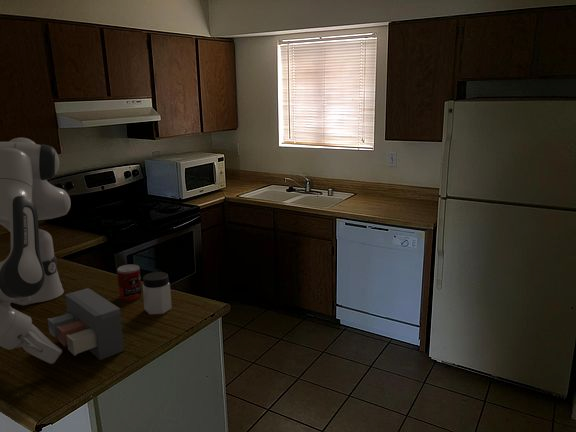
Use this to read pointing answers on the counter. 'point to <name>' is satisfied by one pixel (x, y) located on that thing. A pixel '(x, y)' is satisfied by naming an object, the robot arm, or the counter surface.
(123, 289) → the canned food
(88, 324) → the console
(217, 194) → the counter surface
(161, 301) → the jar
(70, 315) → the blue-grey key
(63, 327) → the brick key
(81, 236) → the counter surface
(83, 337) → the ivory key
